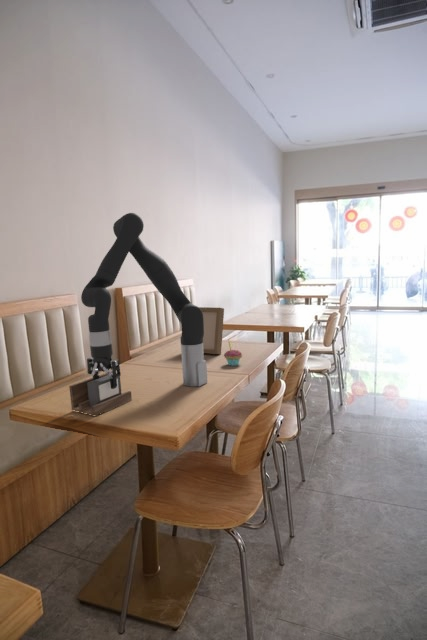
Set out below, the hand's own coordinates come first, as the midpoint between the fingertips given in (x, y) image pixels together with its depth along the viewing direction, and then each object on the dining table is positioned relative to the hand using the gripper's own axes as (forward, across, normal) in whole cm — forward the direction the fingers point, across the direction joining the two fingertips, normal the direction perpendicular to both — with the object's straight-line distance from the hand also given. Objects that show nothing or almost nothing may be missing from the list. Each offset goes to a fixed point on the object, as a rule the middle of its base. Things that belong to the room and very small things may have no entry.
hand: (105, 387), depth 153 cm
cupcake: (+8, -14, -69) cm, 71 cm away
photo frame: (+8, +14, -88) cm, 89 cm away
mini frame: (+6, 0, 0) cm, 6 cm away
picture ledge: (+7, +2, 0) cm, 8 cm away
